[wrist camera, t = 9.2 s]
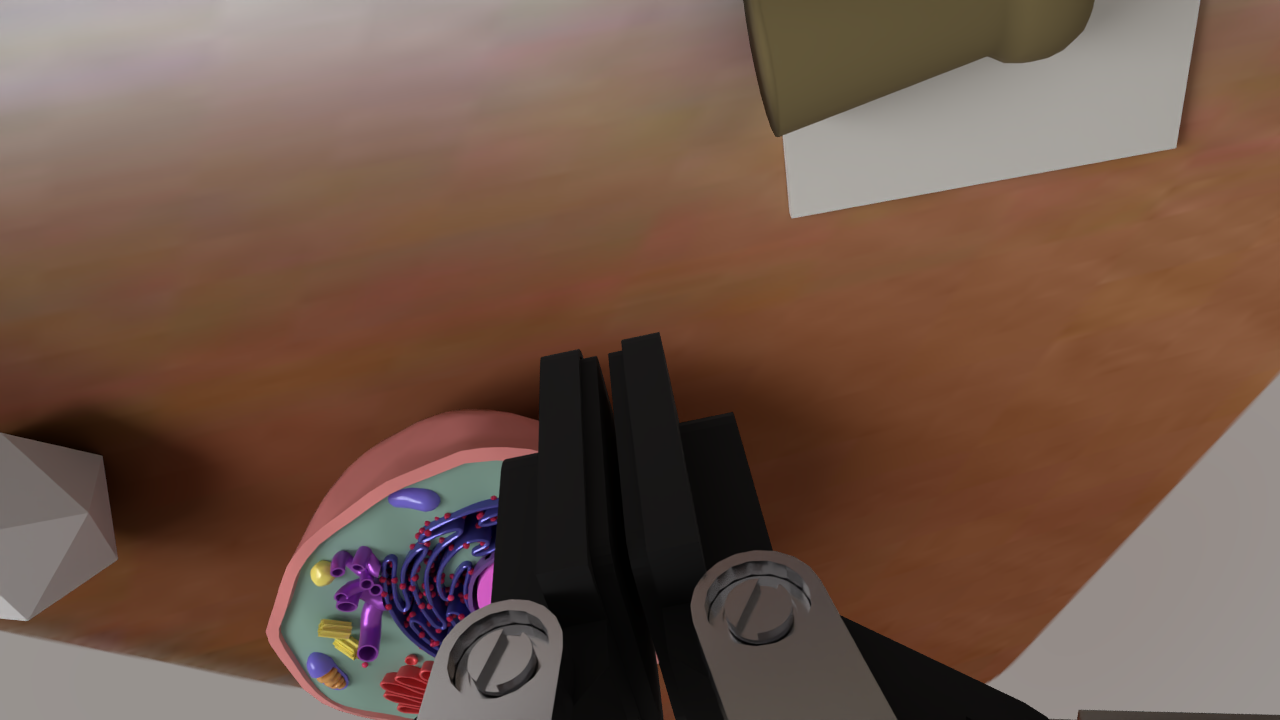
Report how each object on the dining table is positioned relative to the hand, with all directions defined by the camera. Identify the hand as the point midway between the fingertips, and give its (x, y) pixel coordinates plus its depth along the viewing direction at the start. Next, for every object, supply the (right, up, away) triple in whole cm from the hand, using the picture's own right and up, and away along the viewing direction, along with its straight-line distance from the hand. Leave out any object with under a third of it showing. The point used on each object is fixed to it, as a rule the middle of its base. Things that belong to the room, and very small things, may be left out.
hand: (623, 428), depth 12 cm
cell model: (-7, -6, +33) cm, 34 cm away
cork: (+4, +12, +18) cm, 22 cm away
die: (-29, -4, +31) cm, 42 cm away
